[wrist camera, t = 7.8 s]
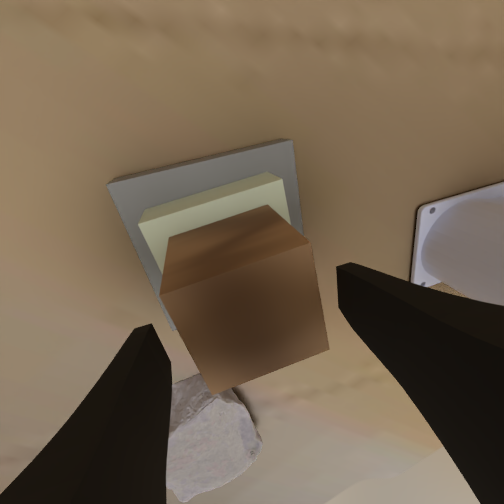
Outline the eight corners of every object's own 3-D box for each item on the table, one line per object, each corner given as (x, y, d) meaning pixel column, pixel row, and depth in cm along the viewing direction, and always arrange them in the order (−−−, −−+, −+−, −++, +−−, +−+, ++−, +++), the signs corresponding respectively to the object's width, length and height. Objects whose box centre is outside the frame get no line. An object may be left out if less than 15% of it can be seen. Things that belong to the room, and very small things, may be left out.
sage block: (267, 171, 15) (282, 178, 13) (289, 273, 18) (304, 293, 16) (144, 209, 14) (137, 224, 12) (190, 308, 17) (191, 334, 15)
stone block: (204, 347, 24) (106, 422, 22) (220, 388, 20) (102, 484, 18) (259, 405, 30) (185, 468, 28) (280, 446, 26) (196, 522, 24)
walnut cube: (267, 204, 13) (310, 242, 8) (287, 285, 15) (329, 349, 11) (168, 237, 12) (159, 295, 8) (204, 315, 15) (212, 395, 10)
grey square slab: (278, 138, 17) (292, 139, 14) (296, 270, 21) (309, 287, 19) (116, 176, 15) (105, 184, 13) (173, 308, 20) (172, 330, 18)
